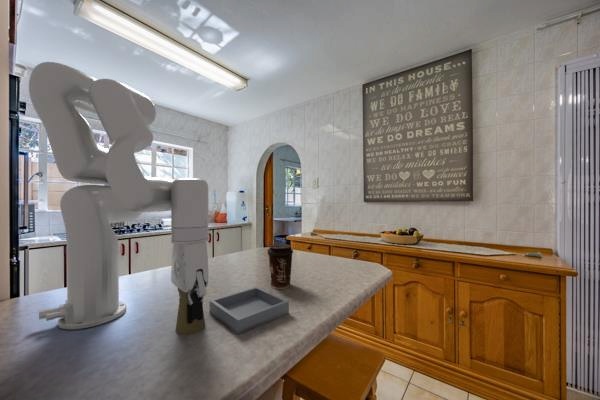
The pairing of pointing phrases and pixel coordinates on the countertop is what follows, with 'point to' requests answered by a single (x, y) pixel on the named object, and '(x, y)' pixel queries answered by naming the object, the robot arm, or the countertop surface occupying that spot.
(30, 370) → the countertop surface
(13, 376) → the countertop surface
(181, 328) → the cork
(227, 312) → the tray
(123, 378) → the countertop surface
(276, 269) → the coffee cup
